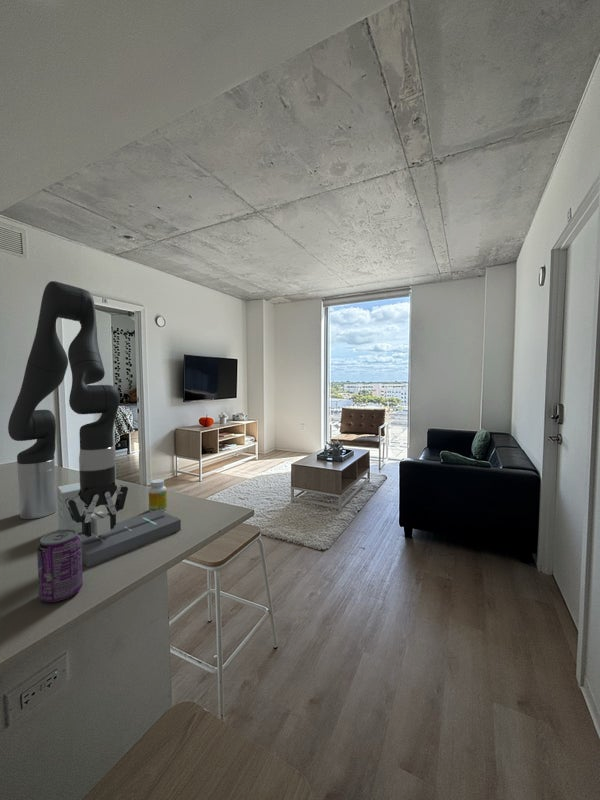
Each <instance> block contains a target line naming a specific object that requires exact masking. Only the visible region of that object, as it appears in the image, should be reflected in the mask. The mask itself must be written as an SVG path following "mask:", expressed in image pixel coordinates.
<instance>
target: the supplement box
mask: <svg viewBox="0 0 600 800" xmlns="http://www.w3.org/2000/svg"><path fill="white" fill-rule="evenodd" d="M56 488H57V489H56V491H57V507H58V508H57V509H58V510H57V511H58V528H59V530H63V529H75V530H77V531H78V534H82V522H80V523H76V522H75V521H73V520H72V518H71V515H70V513H69V510H68V508H67V505H66V502H65V500H66V499H67V498H70V499H71V498H73V497H75V496H77V495H78V493H79V491H80V482H76V483H70V484H64V485H59V486H57V487H56ZM83 506H84V502H83V501H82V500H81V499H80V500H79V504H78V506H77V508H78V511H79V514H80V516H81V515H82V512H83ZM93 513H94V512H93ZM93 513H92V514H93Z"/></svg>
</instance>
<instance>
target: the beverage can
mask: <svg viewBox="0 0 600 800" xmlns="http://www.w3.org/2000/svg"><path fill="white" fill-rule="evenodd" d="M79 536H80V535H79V533H78V531H77V530H75V529H63V530H60V529H59V530H56V531H55V530H54V531H52V532H49V533H46V534H45V535H43V536H42V537H41V538H40V539H39V545H38V548H37V550H36V554H37V557H36V558H37V571H38V572H37V575H38V579H37V580H38V598H39V600H40V601H41V602H44V603H45V602H47V603H49V602H50V603H51V602H52V603H53V602H54V603H55V602H60V600H61V601H63V600H65V599H68V598H70V597H72V596H73V595H74V594H76V593H77V592H79V591H80V590H81V589H82V587H83V584H84V581H83V563H82V552H81V539H80V537H79Z"/></svg>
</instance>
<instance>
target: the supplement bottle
mask: <svg viewBox="0 0 600 800" xmlns="http://www.w3.org/2000/svg"><path fill="white" fill-rule="evenodd" d="M167 498H168V497H167V487H166V486H165V480H164V479H159V478H158V479H153V480H151V481H150V487H149V489H148V511H149V512H152V511H155V510H160V511H162V512H165V510H167V508H168V507H167V506H168V505H167V504H168V503H167V502H168V501H167Z"/></svg>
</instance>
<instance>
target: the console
mask: <svg viewBox="0 0 600 800" xmlns="http://www.w3.org/2000/svg"><path fill="white" fill-rule="evenodd" d="M181 523H182V522H181V518H178V517H175V516H173V515H171V514H169V513H167V512H165V511H160V510H155V511H152V512H150V511H149V512H146V513H144V514H141V515H137V516H134V517H132V518H129V519H126V520H122V521H119V522H116V525H115V526H114V528H113V529H110V532H108V533H105V534H102V537H100V538H98V537H97V536H96V535H95V534H93V533H92V532H91V536H90V537H87V536H85V535H84V534H83V533H82V534H79V535H78V536H79V537H80V539H81V552H82V565H84V566H86V567H87V568H90V567H93V566H95V565H98V564H100V563H103V562H105V561H108V560H110V559H113V558H115V557H117V556H120V555H122V554H125V553H127V552H130V551H132V550H134V549H137V548H139V547H143V546H144V545H147V544H149V543H152V542H154V541H157V540H159V539H161V538H164V537H166V536H169V535H171V534H174V533H176V532H179V531H181V530H182V525H181Z"/></svg>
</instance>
